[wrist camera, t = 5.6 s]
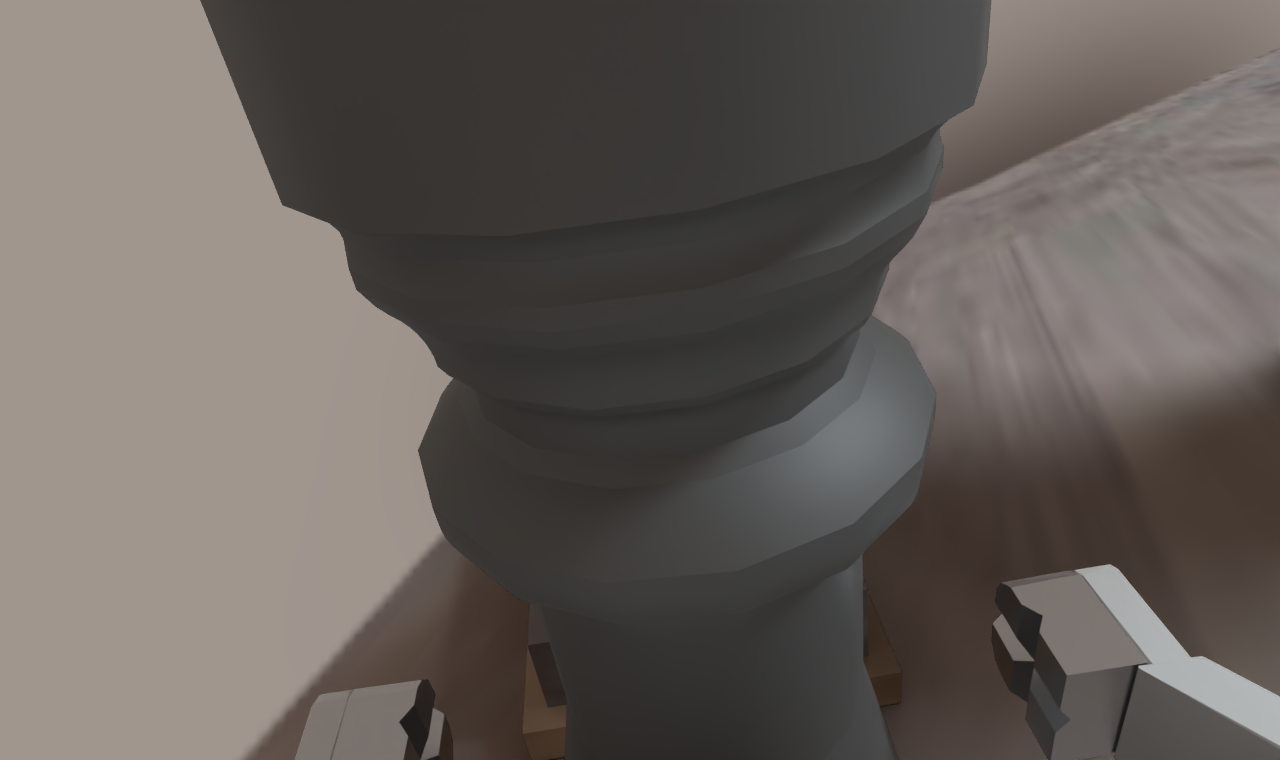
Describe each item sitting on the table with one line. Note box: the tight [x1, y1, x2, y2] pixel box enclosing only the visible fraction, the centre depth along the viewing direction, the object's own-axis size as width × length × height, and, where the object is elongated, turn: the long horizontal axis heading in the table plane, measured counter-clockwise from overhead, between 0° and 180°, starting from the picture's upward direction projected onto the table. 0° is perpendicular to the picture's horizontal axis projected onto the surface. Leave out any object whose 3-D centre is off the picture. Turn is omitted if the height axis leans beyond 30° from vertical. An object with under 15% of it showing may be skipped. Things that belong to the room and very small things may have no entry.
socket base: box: [522, 579, 902, 760], centre depth 30 cm, size 12×12×4 cm
